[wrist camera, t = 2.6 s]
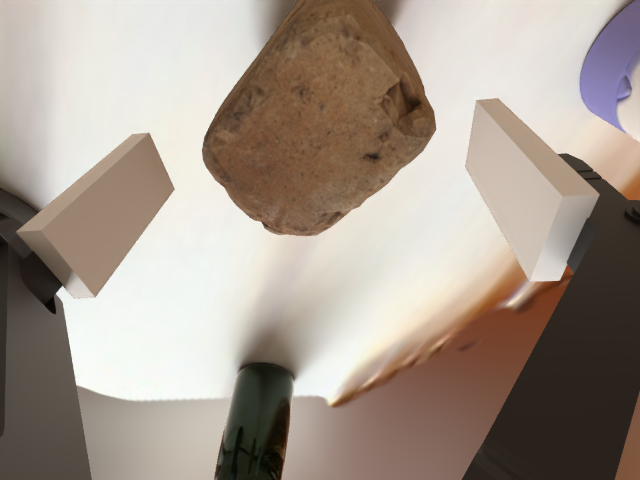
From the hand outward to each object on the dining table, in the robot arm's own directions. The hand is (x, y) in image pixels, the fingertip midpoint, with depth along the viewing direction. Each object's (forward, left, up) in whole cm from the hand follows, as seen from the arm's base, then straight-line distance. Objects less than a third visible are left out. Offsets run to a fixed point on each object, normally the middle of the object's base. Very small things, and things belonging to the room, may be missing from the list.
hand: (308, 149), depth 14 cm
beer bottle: (-16, -51, -18) cm, 57 cm away
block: (0, 0, -18) cm, 18 cm away
